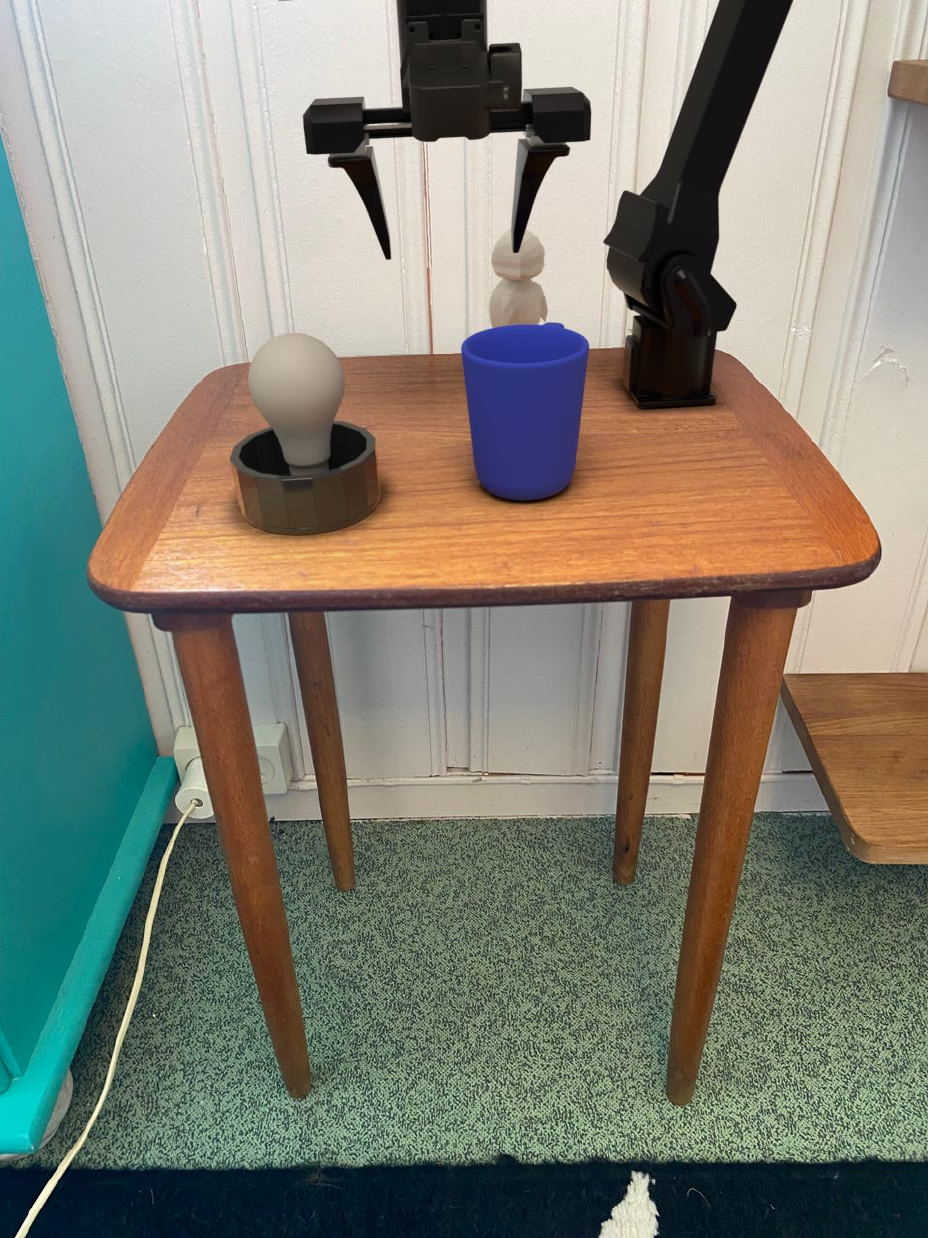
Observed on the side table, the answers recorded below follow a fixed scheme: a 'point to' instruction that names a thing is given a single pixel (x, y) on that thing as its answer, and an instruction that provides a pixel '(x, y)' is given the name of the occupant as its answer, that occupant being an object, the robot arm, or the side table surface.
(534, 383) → the mug
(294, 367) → the lightbulb
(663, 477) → the side table surface
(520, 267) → the figurine
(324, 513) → the bowl
